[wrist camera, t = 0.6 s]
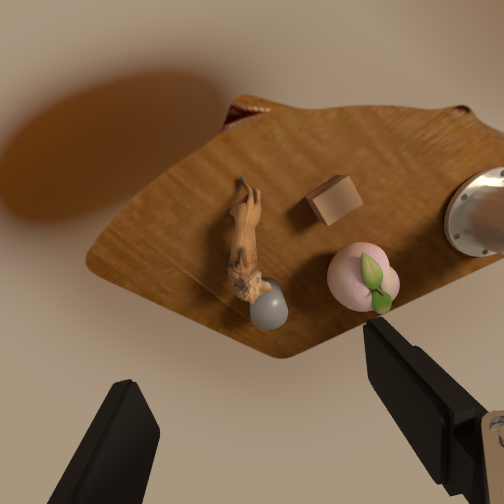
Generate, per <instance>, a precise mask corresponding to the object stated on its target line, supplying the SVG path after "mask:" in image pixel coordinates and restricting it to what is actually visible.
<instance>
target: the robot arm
mask: <svg viewBox="0 0 504 504" xmlns="http://www.w3.org/2000/svg"><path fill="white" fill-rule="evenodd" d="M444 230H445V234H446V237H447V240H448V241H449V243H450V244H451V245H452V246H453V247H454V248H455V249H456V250H458V251H460V252H462V253H464V254H467V255H470V256H476V257H484V256H489V255H494V254H496V253H499V254H502V255H504V167H495V168H491V169H487V170H484V171H482V172H480V173H478V174H476V175H474V176H473V177H471V178H470V179H469V180H467V181H466V182H465V183H464V184H463V185H462V186H461V187H460V188H459V189H458V190H457V191H456V193H455V194H454V196H453V197H452V199H451V200H450V203H449V205H448V207H447V210H446V214H445V218H444ZM363 333H364V343H365V353H366V363H367V372H368V378H369V381H370V383H371V385H372V387H373V388H374V390H375V391H376V393H377V394H378V396H379V397H380V399H381V400H382V402H383V403H384V405H385V407H386V408H387V410H388V411H389V413H390V414H391V416H392V418H393V419H394V421H395V422H396V424H397V425H398V426H399V428H400V430H401V431H402V433H403V434H404V436H405V438H406V439H407V440H408V442H409V444H410V445H411V447H412V448H413V450H414V451H415V453H416V454H417V456H418V457H419V459H420V461H421V462H422V463H423V465H424V466H425V468H426V470H427V471H428V473H429V474H430V476H431V477H432V479H433V480H434V481H435V483H436V484H438V485H439V484H442V485H443V486H444V488H445V489H446V491H447V492H448V494H449V495H450V496H454V495H458V494H463V495H464V497H465V498H466V500H467V501H468V502H469V504H504V411H491V412H488V411H487V410H486V409H485V408H484V407H483V406H482V405H480V403H479V402H477V401H476V400H475V399H474V398H473V397H472V396H471V395H470V394H469V393H468V392H467V391H466V390H465V389H464V388H463V387H462V386H460V385H459V384H458V383H457V382H456V381H455V380H454V379H453V378H452V377H451V376H450V375H449V374H448V373H446V372H445V370H444V369H442V368H441V367H440V366H439V365H438V364H437V363H436V362H435V361H434V360H433V359H432V358H431V357H430V356H429V355H428V354H427V353H425V352H424V351H423V350H422V349H421V348H419V347H418V346H412V345H411V344H410V343H409V342H408V341H407V340H406V339H405V338H404V337H403V336H402V335H401V334H400V333H399V332H397V331H396V330H395V329H394V328H393V327H392V326H391V325H390V324H389V323H388V322H387V321H386V320H385V319H384V318H383V317H378V318H374V319H370V320H367V322H366V325H363ZM159 438H160V428H159V426H158V424H157V422H156V420H155V418H154V416H153V414H152V412H151V410H150V408H149V406H148V404H147V402H146V400H145V398H144V396H143V394H142V392H141V390H140V388H139V386H138V384H137V383H136V382H133V381H132V380H131V379H128V380H124V381H120V382H116V383H114V384H113V385H112V387H111V389H110V391H109V392H108V394H107V396H106V398H105V400H104V401H103V403H102V405H101V407H100V409H99V410H98V412H97V414H96V416H95V418H94V419H93V421H92V423H91V425H90V427H89V428H88V430H87V432H86V434H85V436H84V437H83V439H82V441H81V443H80V445H79V447H78V448H77V450H76V452H75V454H74V456H73V457H72V459H71V461H70V463H69V465H68V466H67V468H66V470H65V472H64V474H63V475H62V477H61V479H60V481H59V483H58V484H57V486H56V488H55V490H54V492H53V493H52V495H51V497H50V499H49V501H48V503H47V504H142V502H143V498H144V494H145V490H146V486H147V483H148V480H149V476H150V472H151V468H152V464H153V461H154V457H155V453H156V449H157V446H158V442H159Z"/></svg>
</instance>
